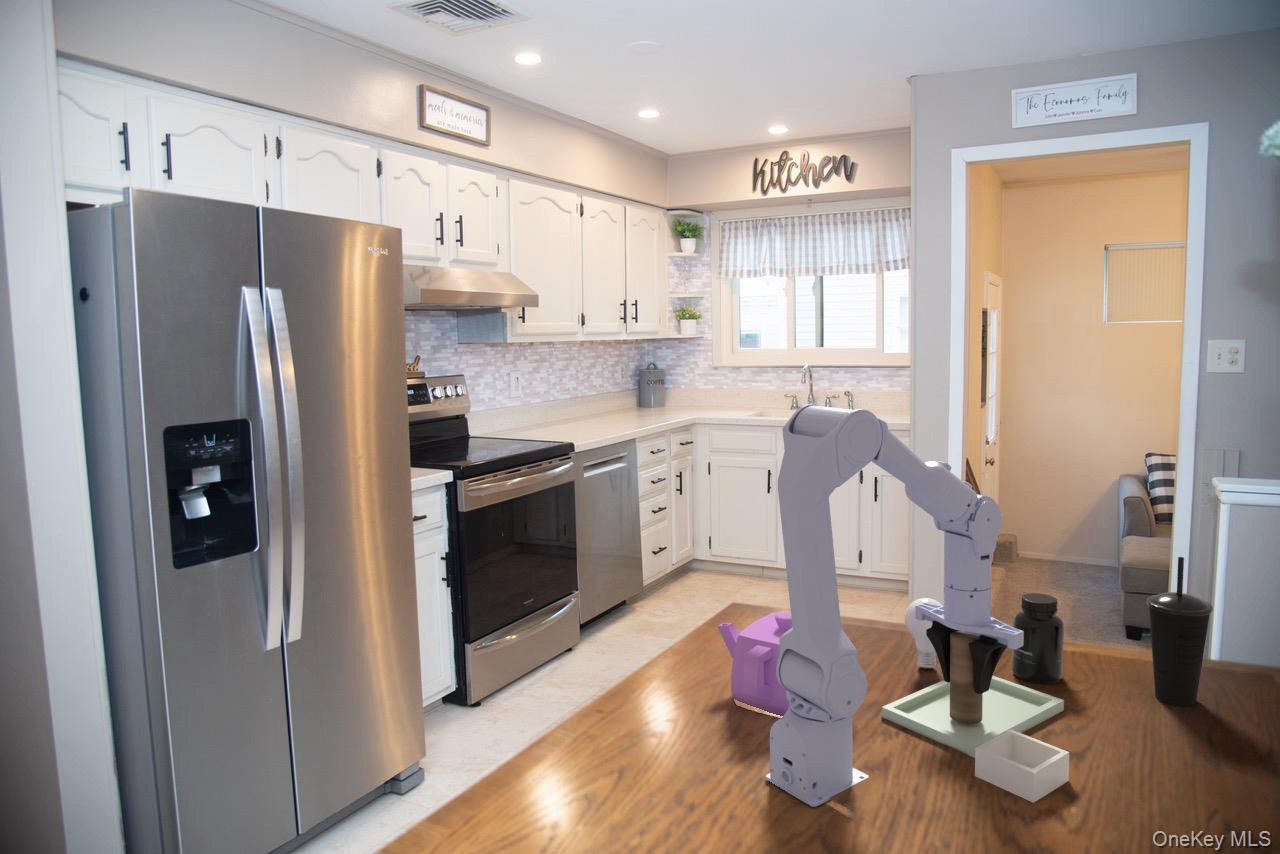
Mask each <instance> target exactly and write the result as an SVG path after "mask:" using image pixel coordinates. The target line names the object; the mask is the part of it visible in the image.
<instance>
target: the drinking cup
mask: <svg viewBox="0 0 1280 854" xmlns="http://www.w3.org/2000/svg"><path fill="white" fill-rule="evenodd" d="M1184 564H1185V557H1183V556H1178V557H1177V576H1176V577H1177V578H1176V579H1177V580H1176V582H1177V583H1176V591H1171V592H1170V591H1168V592H1163V593H1158V594H1155V595H1154V594H1153V595H1151V596H1148V597H1147V598H1146V605H1147V606H1148V609H1149V610H1148V611H1149V613H1148V614H1149V627H1150V640H1151V643H1150V644H1151V653H1152V655H1151V657H1152V668H1153V681H1154V682H1153V683H1154V686H1153V687H1154V695H1155V698H1156V699H1158V700H1159V701H1160V702H1162V703H1166V704H1169V705H1172V706H1179V707H1191V706H1194V705H1196V703H1197V697H1198V692H1199V686H1200V680H1201V679H1200V678H1201V673H1202V667H1203V660H1204V654H1205V653H1204V652H1205V648H1206V647H1205V646H1206V640H1207V635H1208V627H1209V621H1210V615H1211V614H1212V613H1213V611H1214V609H1213V608H1214V607H1213V605H1212V604H1211V603H1209V602H1208V601H1205V600H1203V599H1201V598H1199V597H1197V596H1195V595H1192V594H1189V593H1186V592H1185V593H1184V592H1183V591H1184V567H1185V566H1184Z"/></svg>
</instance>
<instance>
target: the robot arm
mask: <svg viewBox="0 0 1280 854" xmlns="http://www.w3.org/2000/svg"><path fill="white" fill-rule="evenodd" d="M888 427H889V426H888V423H887V422H886V421H885V420H883V419H880V418H878V417H877V415H875V414H874V413H873V412H872V411H870V410H868V409H864V408H863V409H862V408H856V409H850V408H841V407H832V406H823V405H818V404H816V403H807V404H804V405H802V406H801V407H798V409H796V410H795V412H794V413H793V414H792V415H791V416H790V418H789V420H787V422H786V423H785V425H784V426H782V428H781V429H782V439H783V440H782V441H783V448H784V449H783V450H784V452H783V456H782V460H781V464H780V470H779V474H778V477H777V478H778V479H777V493H778V495H777V496H778V502H779V511H780V521H781V531H782V539H783V549H784V559H785V560H784V561H785V569H786V579H787V588H788V589H787V590H788V598H789V606H790V607H789V608H790V613H791V618H792V628H791V629H789V630H788V631H787V632H785V633H784V634H783V635H782V636H781V637H780V638H779V642H780V653H779V657H778V661H777V665H776V676H777V679H778V681H779V683H780V685H781V686H782V687H783V688H785V689H786V699H787V700H788V701H789V704H790V705H789V708H788V710H787V712H786V713H785V714H784V716H783V717H782V718H780V719H779V718H778V719H777V720H776V721H775V722H774V723H773V724H772V725H771V727H770V730H769V770H770V771H769V773H767V774H765V779H766V778H767V781H768V780H769V781H770V783H771V782H772V783H771V784H773V785H774V784H775V786H776V787H778V788H779V787H780V788H779V789H781V790H783V791H784V790H785V792H786V793H788V794H790V795H791V796H793V797H795V798H796V799H798V800H800V801H801V802H803V803H805V804H807V805H809V806H810V807H812V808H817V807H818V806H820V805H822V804H825V803H826V802H828V801H830V800H832V798H831V797H834V796H836V795H837V794H840V793H841V792H844V791H845V790H847V789H849V788H851V787H853V786H855V785H858V784H859V783H861V782H863V781H865V780H868V779H869V778H870V776H869V775H868V774H866V773H864V772H862V771H860V770H858V769H857V768H856V767H855V768H854V766H853V761H854V760H853V757H854V755H853V753H854V752H853V716H854V715H856V714H857V711H858V710H859V708H861V706H862V704H863V702H864V700H865V698H866V694H867V689H868V681H867V680H868V679H867V675H866V674H865V671H864V670H863V669H862V667H861V665H860V662H859V661H860V660H859V654H858V650H857V648H856V647H855V646H854V644H853V643H852V641H851V639H850V638H849V637H848V636H847V634H846V633H845V631H844V630H843V628H842V622H841V612H840V611H841V610H840V604H839V603H840V600H839V590H838V582H837V581H838V580H837V571H836V570H837V569H836V560H835V548H834V538H833V526H832V519H831V518H832V517H831V506H830V505H831V504H830V496H831V495H832V493H833V492H834V491H835V490H836V489H837V488H839V487H841V486H842V485H844V484H845V483H847V481H848V480H850V479H852V478H853V477H854V476H855V475H856V474H857V473H859V472H860V471H861V470H862V469H864V468H865V467H866V466H868V465H869V464H870V463H873V464H874V465H876V466H877V467H879V468H880V469H882V470H884V471H885V472H886V473H888V474H889V475H891V476H892V477H894V478H896V479H897V480H899V481H900V482H902V483H903V484H904V492H905V495H906V497H907V498H908V500H910V501H911V502H912V503H913V504H915V506H917V507H919V508H921V509H922V510H923V511H924V512H926V513H927V514H928V515H930V516H931V517H932V518H933V523H934V525H935V527H936V529H937V530H938V531H942V532H944V534H943V535H944V536H943V539H944V540H943V606H939V605H933V604H929V603H925V602H924V603H921V604H918V605H916V608H915V619H917V620H921V621H923V620H927V621H931V622H932V626H931V628H929V629H927V630H926V635H927V637H928V638H929V640H930V642H931V643H932V645H933V647H934V649H935V651H936V656H937V658H938V662H939V665H940V669H941V672H942V678H943V680H944V681H945V682H948V683H949V682H950V634H951V633H952V632H955V631H963V632H966V633H969V634H973V635H976V636H979V640H975V641H973V642H970V643H969V648H970V651H971V655H972V660H973V666H974V689H975V693H978V694H982V693H984V692H986V691H988V690H989V687H990V683H991V679H992V676H994V673H995V670H996V667H997V665H998V664H999V661H1000V659H1001V658H1002V656H1003V654H1004V652H1005V651H1006V649H1007V648H1008V649H1011V650H1013V649H1014V650H1015V649H1017V648H1020V647H1022V646H1023V642H1024V631H1022V630H1018V629H1016V628H1013V626H1011V625H1009V624H1007V623H1004V622H1002V621H1001V620H998V619H997V618H995V617H993V616H992V615H991V614H992V570H993V569H992V563H993V562H992V559H993V558H992V557H993V553H995V551H996V549H997V540H998V539H997V538H998V536H999V534H1000V532H1001V530H1002V527H1003V525H1004V515H1003V514H1002V510H1001V508H1000V506H999V505H998V504H997V503H996V501H995V499H993V498H992V497H991V496H988V495H983V494H978V493H976V491H975V490H974V489H973V485H972V484H971V483H970V482H969V481H964V480H963V481H962V479H960V478H959V477H957V475H955V474H954V473H952V472H951V470H952V466H951V465H950V464H949V463H948V462H945V461H934V460H933V461H932V460H930V461H929V460H928V461H923V460H922V459H921V458H920V457H919V456H918V455H916V454H915V453H914V452H913V451H912V450H911V449H910V448H909V447H908V446H907V445H906V444H904V442H902V441H901V440H900V439H899V438H898V437H897V436H896V435H895V434H894V433H892V431H890V430H889V428H888ZM769 781H768V782H769Z"/></svg>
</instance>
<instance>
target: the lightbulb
mask: <svg viewBox="0 0 1280 854" xmlns="http://www.w3.org/2000/svg"><path fill="white" fill-rule="evenodd" d="M924 602H925V603H929V604H933V605H939V606H944V604H942V603H941V602H940V601H938V600H937V599H934V598H930V597H922V598H921V597H920V598H917V599H915V600H913V601H912V602H910V604H909V605H908V606H907V608H906V610H905V612H904V613H905V614H904V623H905V625H906V628H907V630H908V632H909V633H910V634H911V636H912V638H913V639H914V640H913V641H914V645H915V647H916V649H917V651H916V652H917V655H916V656H917V662H916V664H917V665H918V666H919V667H920V668H922V669H924V670H930V669H933V668H935V667H936V666H937V665H936V664H937V663H936V662H937V660H936V656H937V654H936V651H935V649H934V647H933V645H932V643H931V642H930V640H929V638H928V637H927V635H926V630H927V629H929V628H931V626H932V622H931V621H927V620H923V621H921V620H917V619H915V608H916V605H918V604H921V603H924Z"/></svg>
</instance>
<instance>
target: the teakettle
mask: <svg viewBox="0 0 1280 854" xmlns="http://www.w3.org/2000/svg"><path fill="white" fill-rule="evenodd" d="M791 628H792V618H791V612H787V611H785V612H783V611H782V612H780V611H775V612H771V613H769V614H768V615H767V614H766V615H764V616H763V617H760V618H759V619H757V620H755V621H754V622H752V623H750V624H749V625H748V626H746V627H745V628H743V629H742V630H741V631H739V630H738V629H737V628H736V627H735V626H734V624H733V623H732V622H723V623H720V624H718V625H717V629H718V631H719V633H720V635H721V637H722V639H723V642H724V643H725V646H726V648H727V650H728V651H729V654H730V655H731V658H732V665H731V673H730V674H731V675H730V691H731V695H732V699H733V698H734V699H735V700H737V701H739V702H742V703H745V704H747V705H750V706H753V707H756V708H759V709H762V710H764V711H767V712H769V713H773V714H776V715H780V716H784V714H785V713H786V712H787V710H788V708H789V705H790V704H789V701H788V700H787V699H786V689H785V688H783V687H782V686H781V685H780V683H779V681H778V679H777V676H776V665H777V661H778V657H779V653H780V642H779V638H780V637H781V636H782V635H783V634H784V633H785V632H787V631H788V630H789V629H791Z"/></svg>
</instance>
